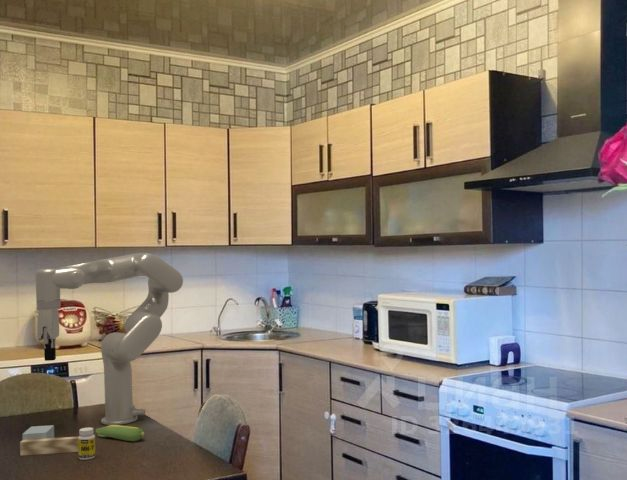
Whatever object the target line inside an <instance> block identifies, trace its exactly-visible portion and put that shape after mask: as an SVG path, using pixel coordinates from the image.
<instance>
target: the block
mask: <svg viewBox="0 0 627 480" xmlns="http://www.w3.org/2000/svg"><path fill="white" fill-rule="evenodd" d="M21 435H22V440H31V439H47V438H55V426H54V424H52V425H36V426H33V425H32V426H30V427H29V428H28V429H26V430H25V431H24V432H23V433H22V434H21Z"/></svg>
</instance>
